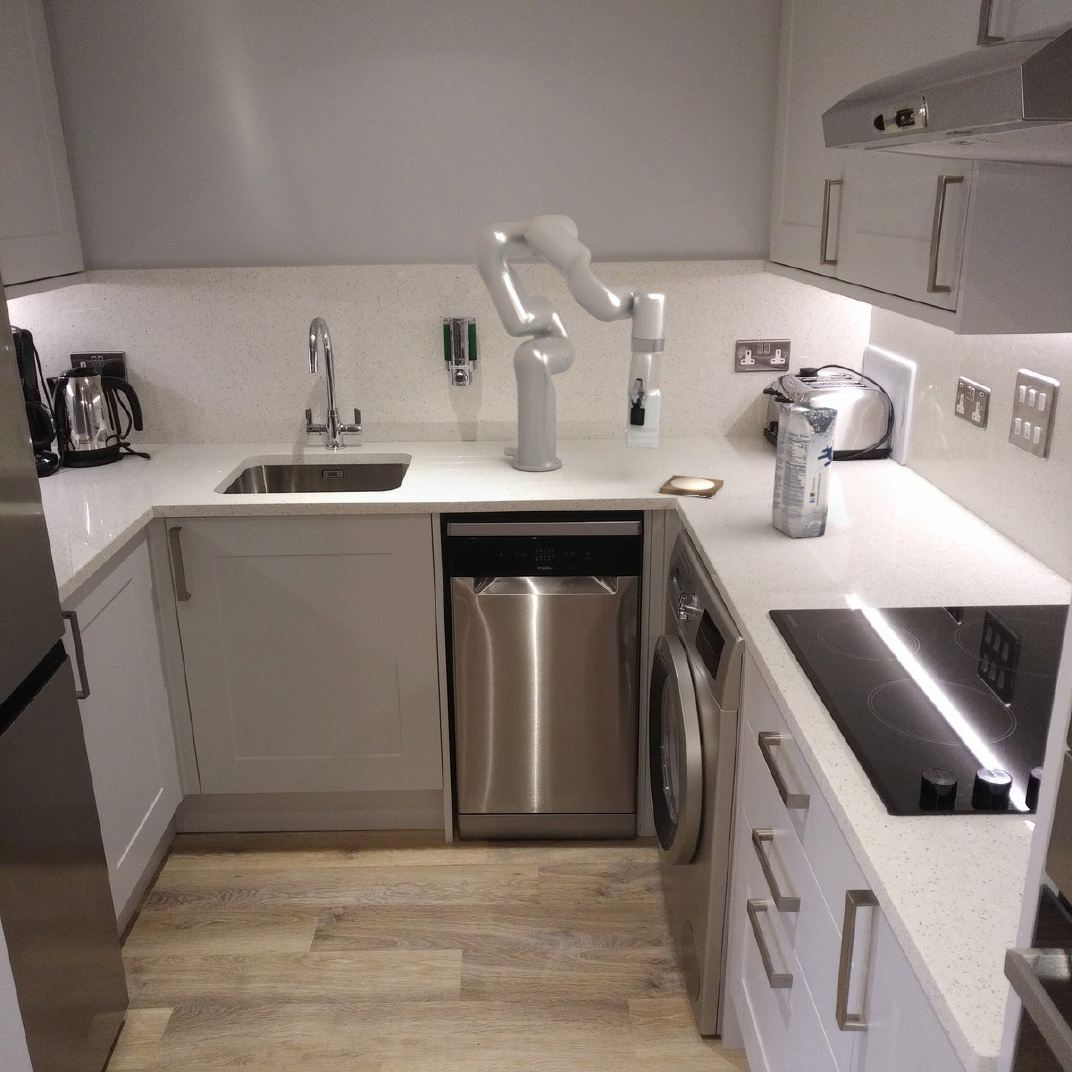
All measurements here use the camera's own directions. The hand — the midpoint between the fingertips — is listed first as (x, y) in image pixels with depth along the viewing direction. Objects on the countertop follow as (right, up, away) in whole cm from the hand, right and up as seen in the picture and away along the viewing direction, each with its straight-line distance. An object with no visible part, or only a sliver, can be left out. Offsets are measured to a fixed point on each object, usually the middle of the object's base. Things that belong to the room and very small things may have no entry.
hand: (642, 420), depth 234 cm
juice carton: (+28, -26, -29) cm, 48 cm away
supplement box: (0, -6, +2) cm, 6 cm away
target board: (+11, -16, +1) cm, 20 cm away
